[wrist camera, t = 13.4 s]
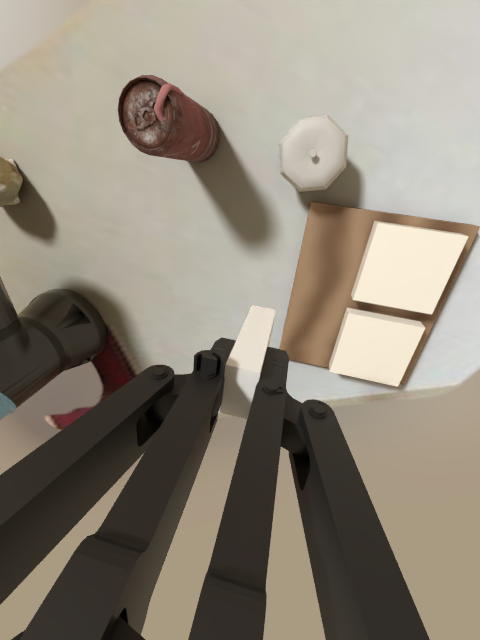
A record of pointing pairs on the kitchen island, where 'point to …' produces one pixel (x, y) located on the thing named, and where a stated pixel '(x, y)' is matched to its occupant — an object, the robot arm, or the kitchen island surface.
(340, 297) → the board
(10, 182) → the grey rock
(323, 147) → the apple
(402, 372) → the square block
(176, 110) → the can
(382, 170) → the kitchen island surface
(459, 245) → the tile cream
